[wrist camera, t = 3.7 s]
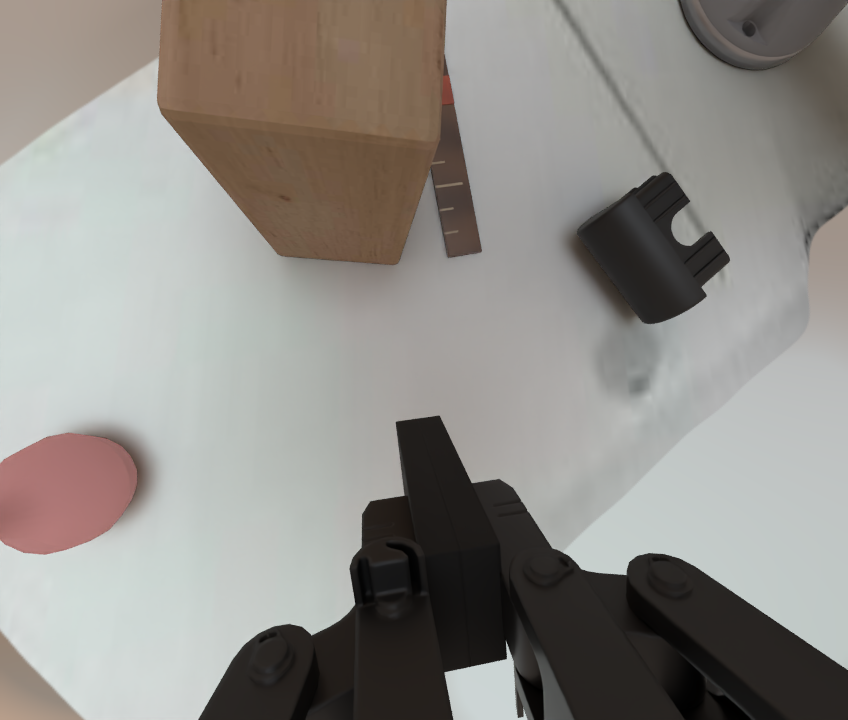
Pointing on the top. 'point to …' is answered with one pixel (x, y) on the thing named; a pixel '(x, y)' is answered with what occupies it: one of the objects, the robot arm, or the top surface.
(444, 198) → the ruler
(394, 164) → the wooden block
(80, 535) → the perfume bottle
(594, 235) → the end cap
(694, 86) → the top surface
